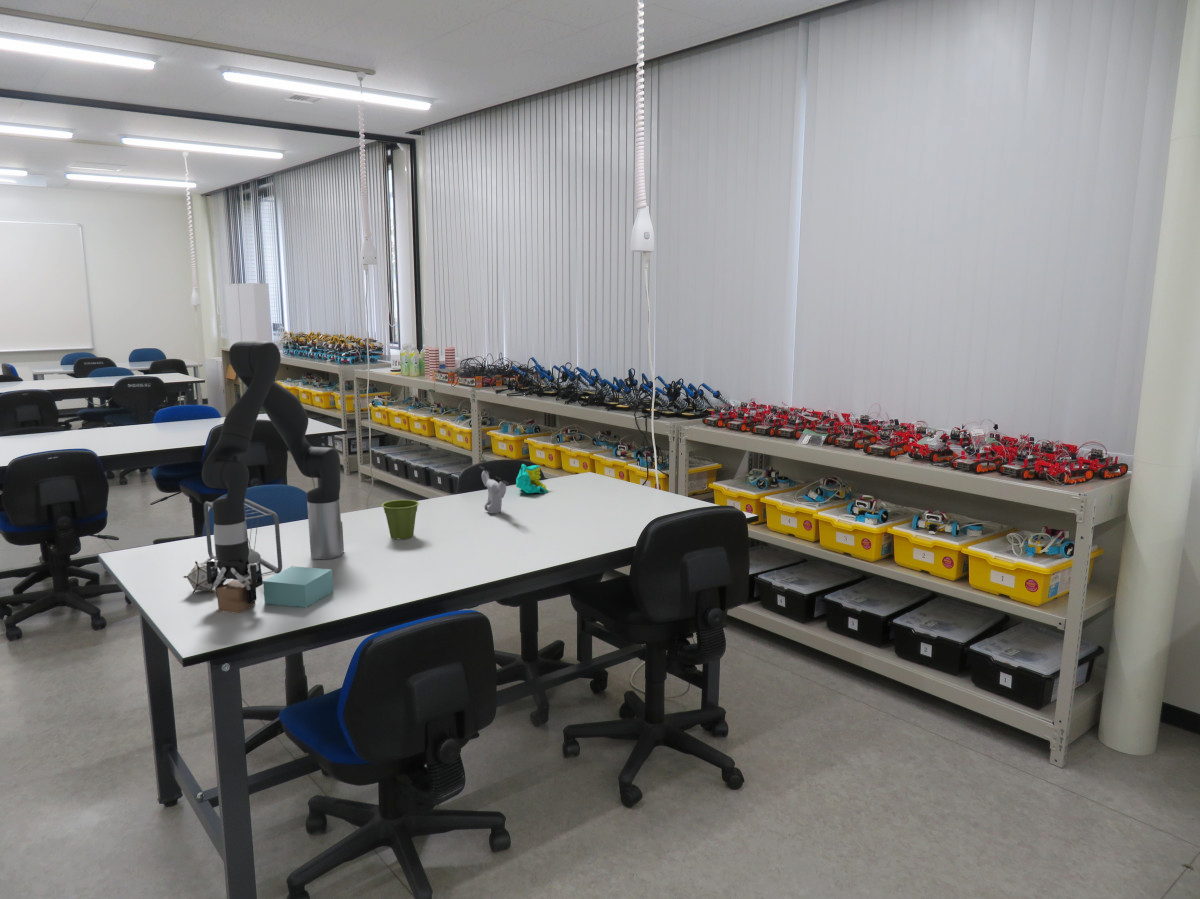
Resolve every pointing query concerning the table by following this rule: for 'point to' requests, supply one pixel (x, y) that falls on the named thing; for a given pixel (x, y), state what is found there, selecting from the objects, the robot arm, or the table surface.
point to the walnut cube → (232, 597)
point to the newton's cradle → (253, 555)
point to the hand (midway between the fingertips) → (236, 601)
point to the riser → (298, 586)
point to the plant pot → (401, 517)
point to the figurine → (493, 492)
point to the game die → (199, 578)
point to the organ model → (530, 479)
